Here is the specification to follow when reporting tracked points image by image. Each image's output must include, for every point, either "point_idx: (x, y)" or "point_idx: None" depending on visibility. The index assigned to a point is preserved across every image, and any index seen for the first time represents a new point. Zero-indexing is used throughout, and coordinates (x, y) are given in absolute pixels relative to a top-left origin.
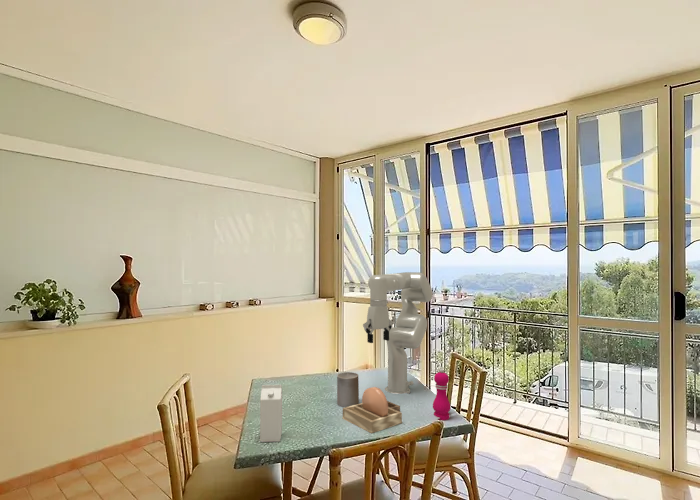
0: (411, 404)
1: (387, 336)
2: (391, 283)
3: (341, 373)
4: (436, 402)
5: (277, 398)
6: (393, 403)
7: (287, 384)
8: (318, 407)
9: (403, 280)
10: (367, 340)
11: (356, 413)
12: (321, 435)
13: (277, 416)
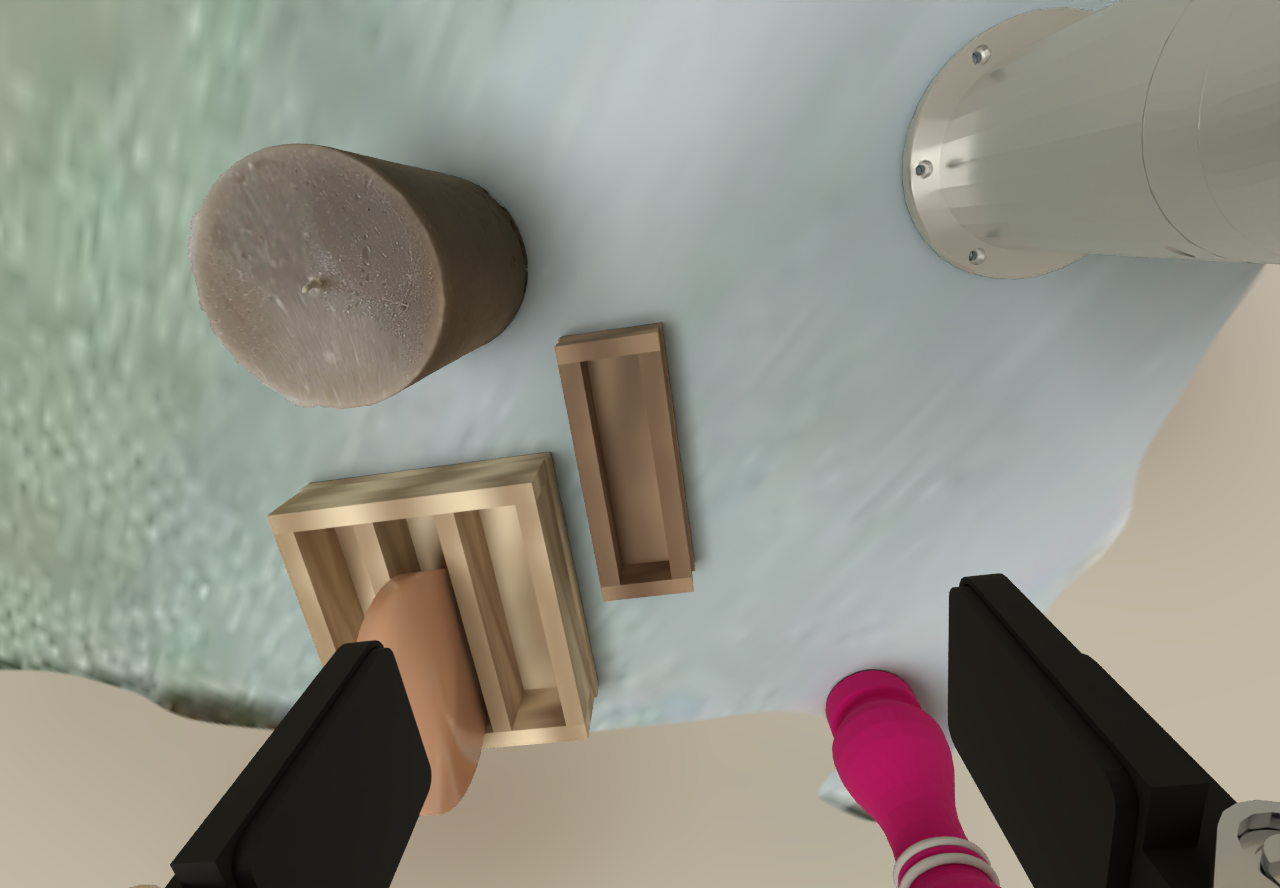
0: (880, 466)
1: (1005, 820)
2: None
3: (266, 175)
4: (852, 785)
5: None
6: (683, 535)
7: None
8: (217, 178)
9: None
10: (326, 665)
11: (322, 630)
12: (146, 591)
13: None
